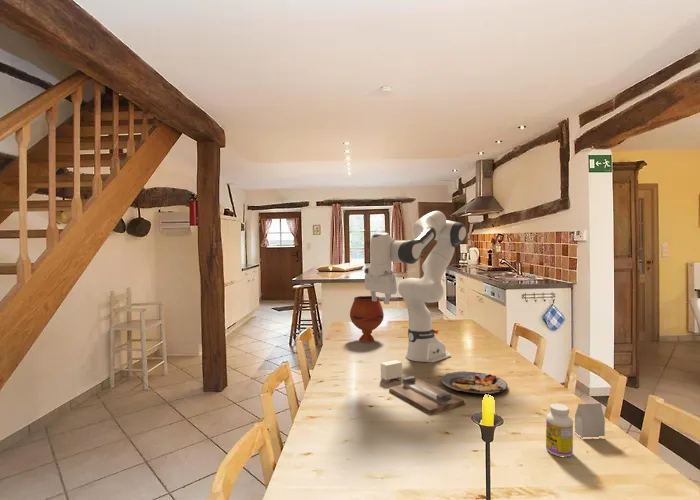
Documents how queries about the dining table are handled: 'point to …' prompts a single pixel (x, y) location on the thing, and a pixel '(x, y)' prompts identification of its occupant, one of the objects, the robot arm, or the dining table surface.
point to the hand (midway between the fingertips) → (380, 302)
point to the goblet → (366, 316)
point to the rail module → (391, 370)
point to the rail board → (425, 395)
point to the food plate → (474, 382)
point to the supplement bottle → (559, 431)
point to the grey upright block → (589, 420)
